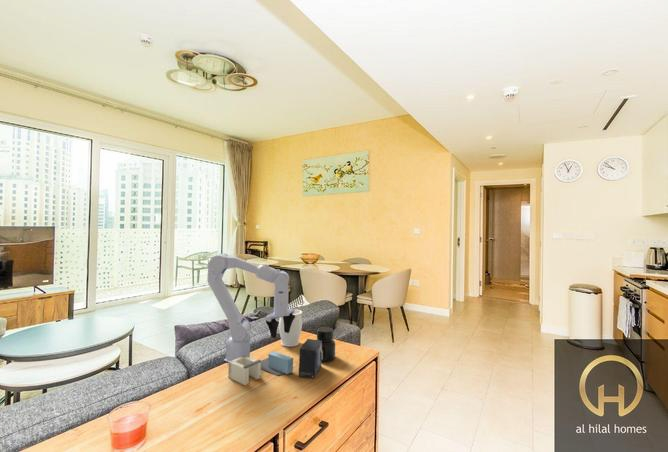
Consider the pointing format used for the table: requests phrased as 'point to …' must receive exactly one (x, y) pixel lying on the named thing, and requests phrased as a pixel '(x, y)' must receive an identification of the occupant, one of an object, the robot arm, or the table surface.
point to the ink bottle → (326, 343)
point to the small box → (310, 358)
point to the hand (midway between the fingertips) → (280, 334)
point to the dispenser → (244, 369)
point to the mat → (265, 367)
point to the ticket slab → (280, 362)
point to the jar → (291, 330)
